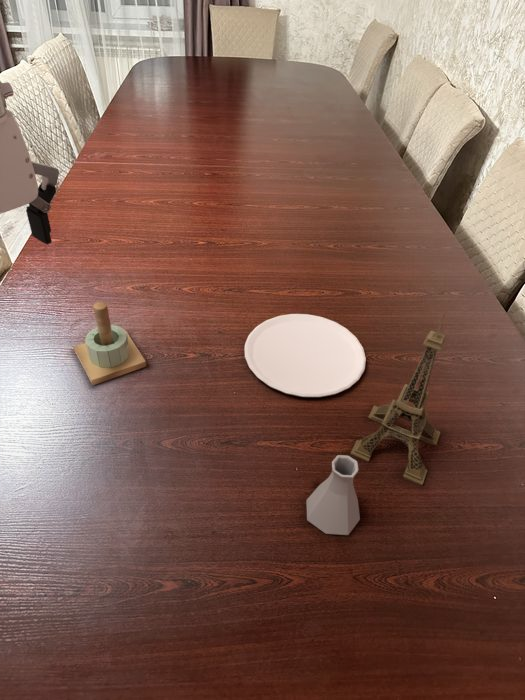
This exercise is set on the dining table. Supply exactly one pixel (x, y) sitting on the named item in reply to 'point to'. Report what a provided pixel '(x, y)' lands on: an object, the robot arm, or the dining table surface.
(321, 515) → the flask
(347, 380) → the plate
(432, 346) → the eiffel tower
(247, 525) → the dining table surface
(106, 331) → the stand
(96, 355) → the pale green ring
